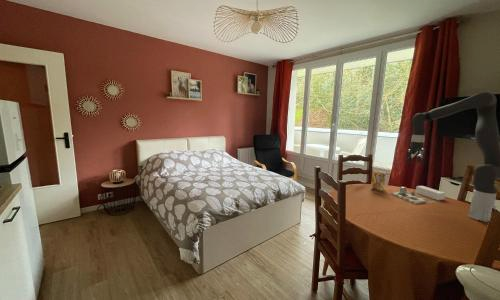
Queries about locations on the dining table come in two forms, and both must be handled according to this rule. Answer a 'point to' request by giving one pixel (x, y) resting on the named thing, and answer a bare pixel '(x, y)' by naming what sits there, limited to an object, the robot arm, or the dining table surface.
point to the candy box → (378, 180)
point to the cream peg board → (409, 198)
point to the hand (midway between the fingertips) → (414, 163)
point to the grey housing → (430, 192)
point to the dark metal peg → (403, 191)
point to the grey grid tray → (420, 197)
